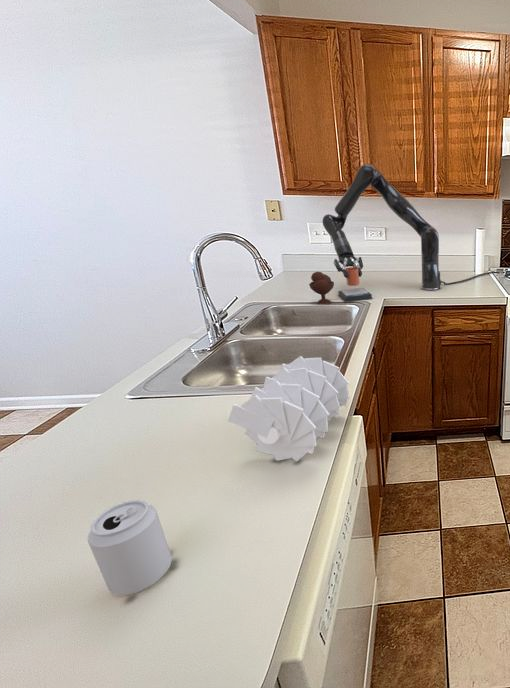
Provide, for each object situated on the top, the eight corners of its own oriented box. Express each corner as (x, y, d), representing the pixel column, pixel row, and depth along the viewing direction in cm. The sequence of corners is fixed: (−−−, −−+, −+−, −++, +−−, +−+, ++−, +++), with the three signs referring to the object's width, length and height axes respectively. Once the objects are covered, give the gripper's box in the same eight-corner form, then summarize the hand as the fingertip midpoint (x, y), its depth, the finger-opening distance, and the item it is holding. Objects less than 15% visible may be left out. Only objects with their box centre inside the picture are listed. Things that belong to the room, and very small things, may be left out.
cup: (357, 282, 202) (356, 266, 199) (361, 285, 197) (359, 269, 194) (345, 283, 199) (344, 267, 196) (348, 286, 194) (347, 270, 191)
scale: (363, 292, 208) (363, 287, 207) (371, 298, 198) (371, 293, 197) (338, 295, 202) (338, 289, 201) (345, 302, 191) (344, 296, 190)
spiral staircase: (341, 422, 105) (296, 486, 82) (278, 393, 103) (214, 451, 80) (366, 366, 100) (326, 418, 76) (301, 335, 98) (239, 378, 74)
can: (104, 578, 59) (77, 517, 55) (164, 545, 65) (144, 487, 61) (117, 610, 55) (90, 547, 51) (180, 572, 61) (160, 512, 56)
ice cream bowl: (328, 306, 184) (324, 274, 179) (306, 304, 186) (302, 273, 181) (340, 300, 194) (337, 270, 189) (319, 298, 196) (316, 268, 191)
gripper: (330, 245, 193) (341, 274, 188) (358, 243, 201) (369, 270, 197) (327, 254, 198) (338, 282, 194) (355, 252, 207) (366, 279, 202)
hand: (354, 276), depth 195 cm, fingers closed on cup, 6 cm apart
